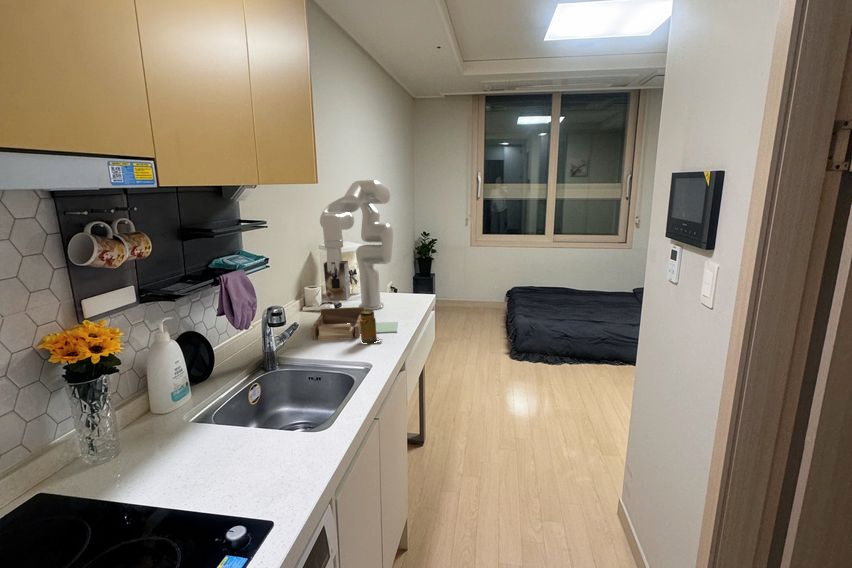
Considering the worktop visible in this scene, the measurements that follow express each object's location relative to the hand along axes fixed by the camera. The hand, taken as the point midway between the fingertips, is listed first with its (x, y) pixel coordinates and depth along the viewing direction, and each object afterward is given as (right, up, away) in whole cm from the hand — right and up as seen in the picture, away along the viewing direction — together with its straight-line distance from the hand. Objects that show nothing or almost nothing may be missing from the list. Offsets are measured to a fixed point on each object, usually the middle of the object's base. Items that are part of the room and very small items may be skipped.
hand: (337, 285), depth 186 cm
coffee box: (0, -6, +1) cm, 6 cm away
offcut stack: (+1, -21, -6) cm, 22 cm away
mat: (+19, -18, +3) cm, 26 cm away
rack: (+1, -19, +2) cm, 19 cm away
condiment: (+16, -22, -12) cm, 30 cm away
